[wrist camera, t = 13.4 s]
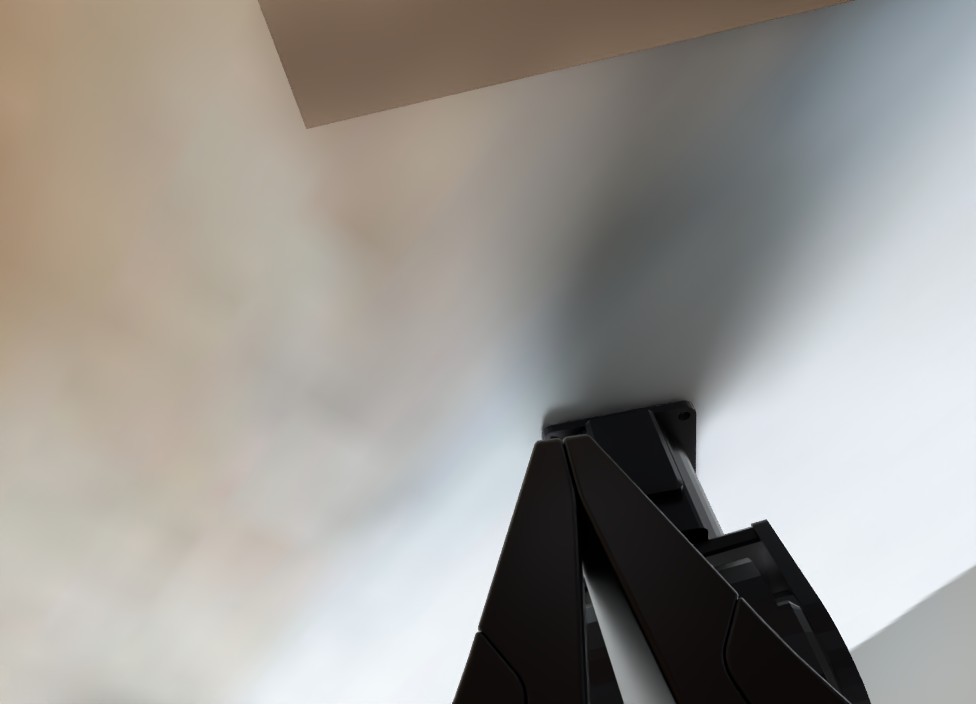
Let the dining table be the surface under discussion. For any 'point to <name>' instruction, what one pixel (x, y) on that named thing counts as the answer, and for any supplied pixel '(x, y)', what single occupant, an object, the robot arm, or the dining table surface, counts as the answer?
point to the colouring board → (473, 42)
